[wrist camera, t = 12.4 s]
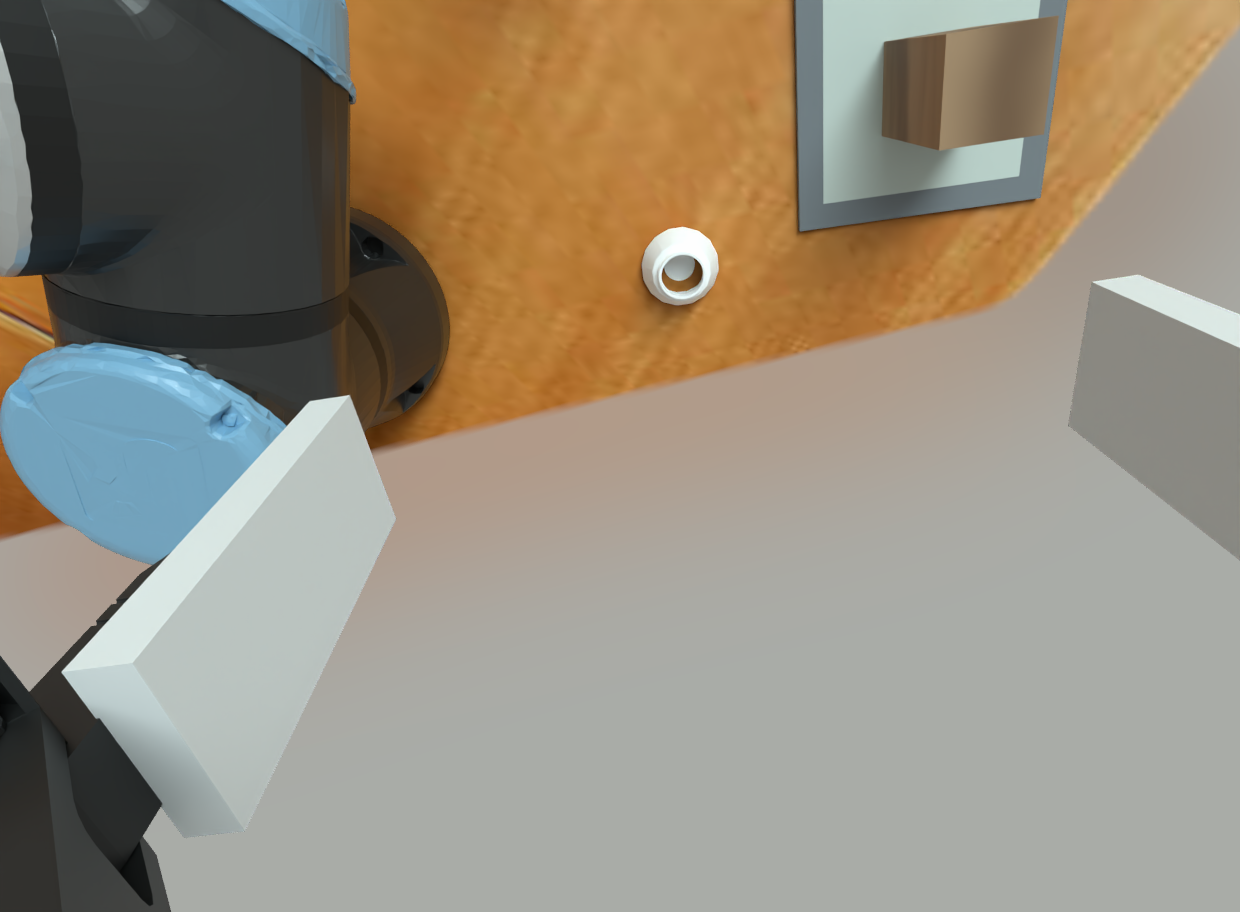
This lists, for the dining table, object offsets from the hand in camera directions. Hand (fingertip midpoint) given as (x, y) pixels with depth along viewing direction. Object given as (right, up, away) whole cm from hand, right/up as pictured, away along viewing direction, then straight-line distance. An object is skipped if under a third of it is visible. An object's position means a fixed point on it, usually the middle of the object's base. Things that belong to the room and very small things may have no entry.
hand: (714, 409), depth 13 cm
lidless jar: (+2, +12, +35) cm, 37 cm away
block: (+16, +21, +29) cm, 39 cm away
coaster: (+16, +21, +29) cm, 39 cm away
